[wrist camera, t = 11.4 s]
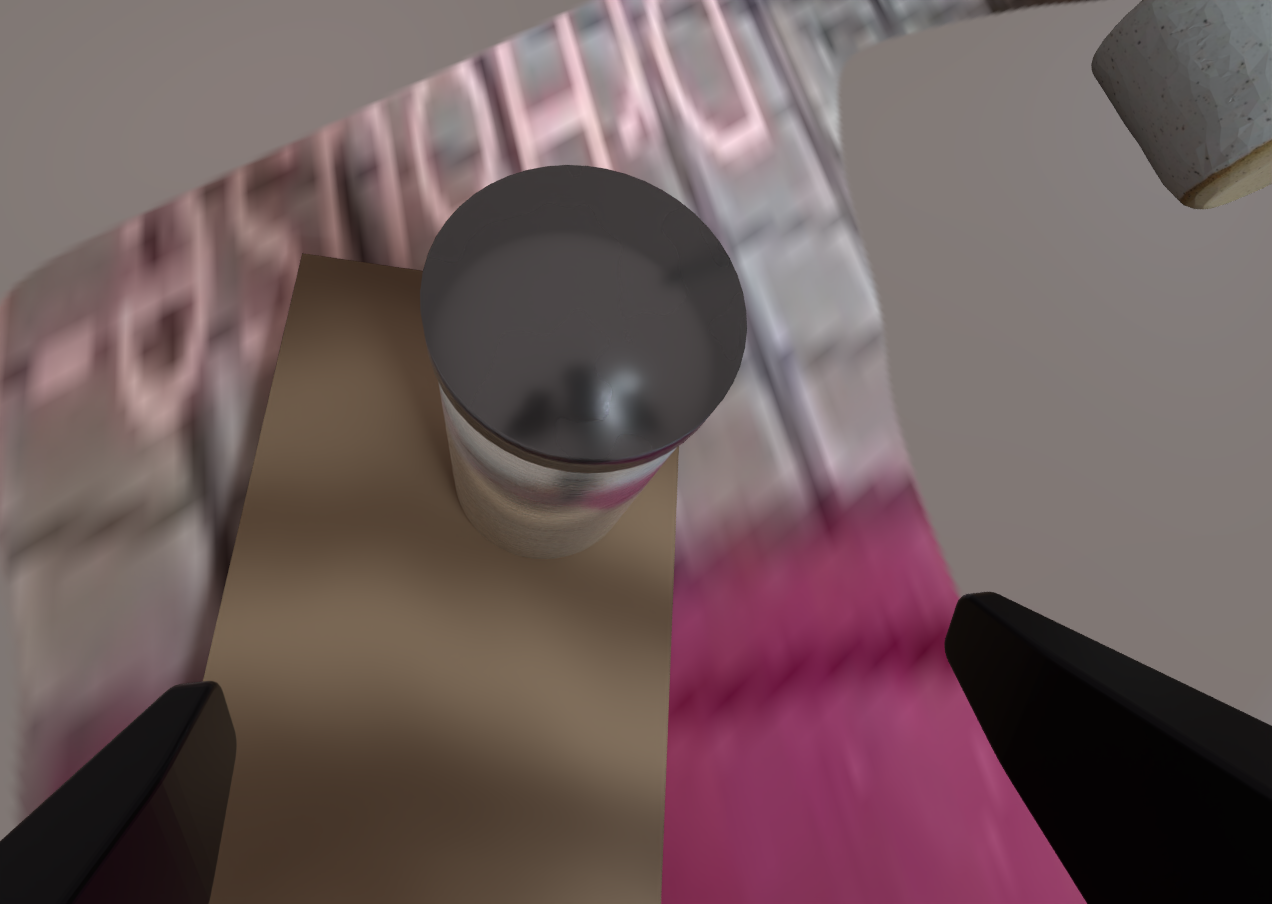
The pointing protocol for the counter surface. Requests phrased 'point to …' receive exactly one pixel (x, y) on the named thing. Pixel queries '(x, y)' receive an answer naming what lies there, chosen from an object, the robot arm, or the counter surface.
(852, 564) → the counter surface
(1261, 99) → the ceramic mug
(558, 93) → the counter surface
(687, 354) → the metal tin
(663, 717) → the tan wooden panel
